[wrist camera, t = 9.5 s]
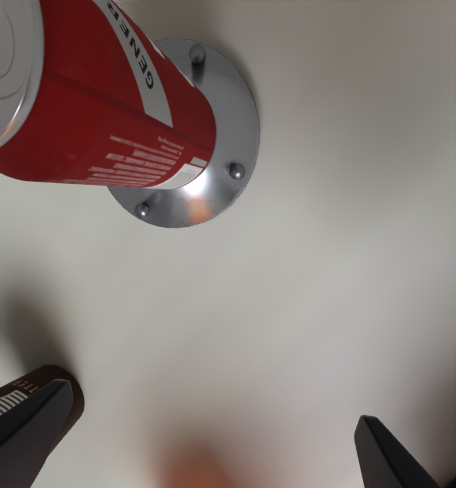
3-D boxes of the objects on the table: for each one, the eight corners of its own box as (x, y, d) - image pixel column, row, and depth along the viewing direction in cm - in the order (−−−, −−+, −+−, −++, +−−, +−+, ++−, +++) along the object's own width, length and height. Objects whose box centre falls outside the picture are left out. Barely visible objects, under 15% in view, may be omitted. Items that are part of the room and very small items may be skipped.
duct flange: (292, 85, 16) (291, 75, 15) (215, 254, 20) (209, 258, 18) (132, 22, 18) (120, 9, 17) (85, 185, 22) (72, 184, 20)
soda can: (224, 184, 18) (79, 161, 6) (135, 193, 19) (-105, 189, 8) (215, 72, 17) (21, -203, 5) (122, 93, 18) (-173, -75, 7)
